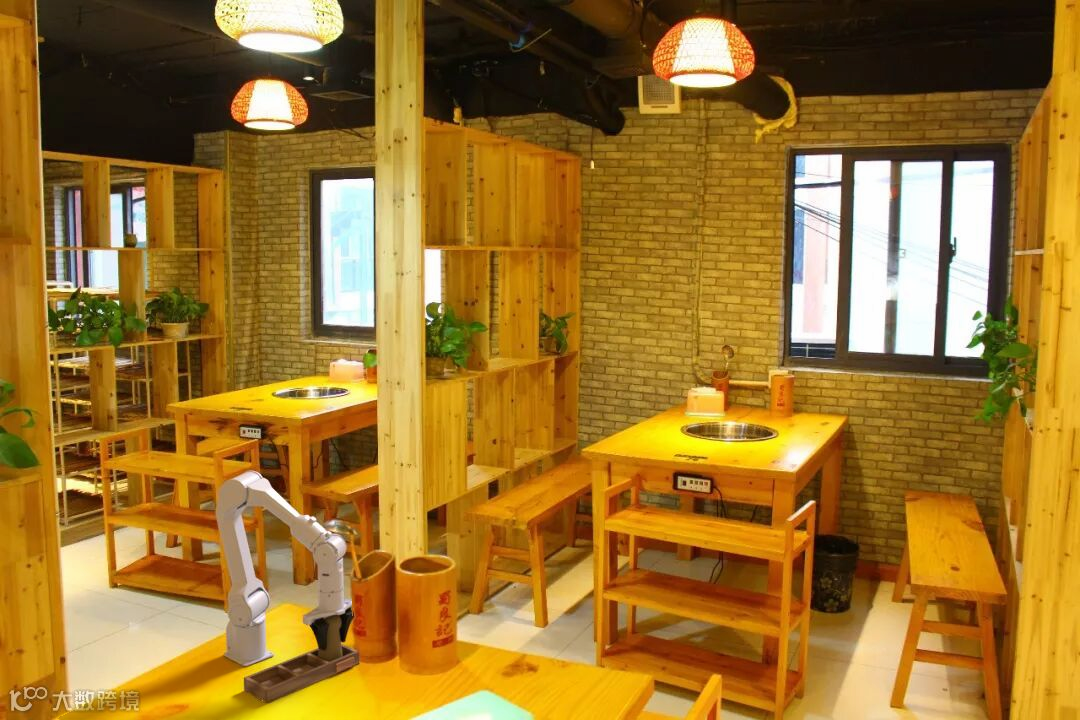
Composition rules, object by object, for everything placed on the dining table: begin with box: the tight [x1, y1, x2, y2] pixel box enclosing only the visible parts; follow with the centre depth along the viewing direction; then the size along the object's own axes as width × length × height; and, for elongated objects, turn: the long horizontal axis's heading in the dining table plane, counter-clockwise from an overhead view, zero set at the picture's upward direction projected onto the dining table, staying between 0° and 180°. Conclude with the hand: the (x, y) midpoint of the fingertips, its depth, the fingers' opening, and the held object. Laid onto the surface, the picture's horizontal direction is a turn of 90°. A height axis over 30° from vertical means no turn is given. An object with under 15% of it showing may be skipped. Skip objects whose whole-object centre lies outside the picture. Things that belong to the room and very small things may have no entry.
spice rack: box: [243, 643, 360, 704], centre depth 204 cm, size 9×25×3 cm, turn 141°
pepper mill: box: [318, 614, 343, 662], centre depth 210 cm, size 6×6×11 cm
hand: (331, 645), depth 210 cm, fingers closed on pepper mill, 5 cm apart
